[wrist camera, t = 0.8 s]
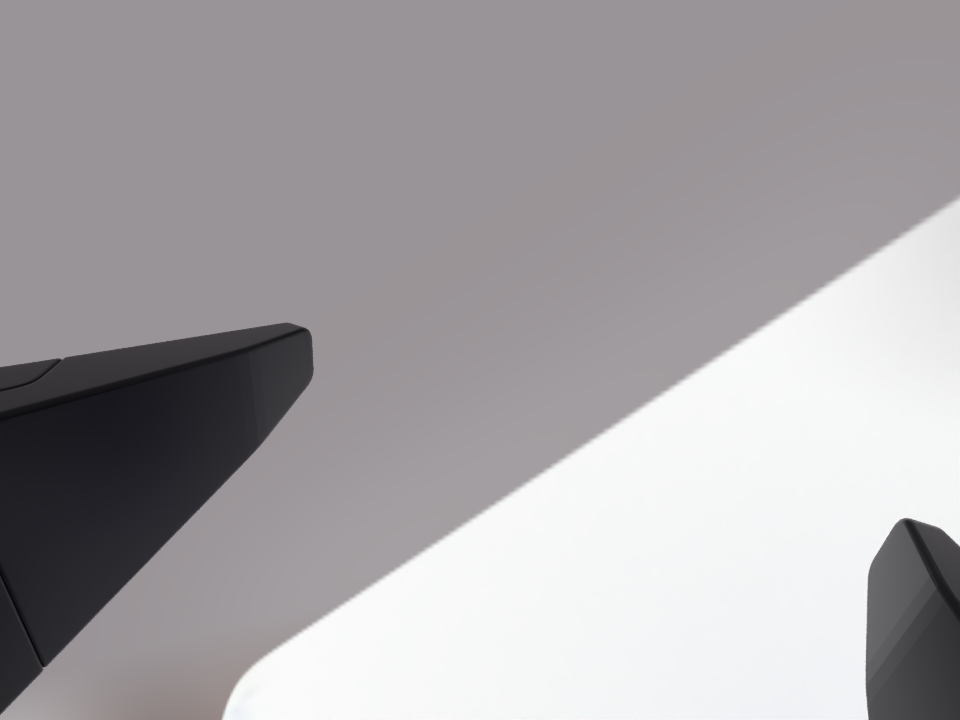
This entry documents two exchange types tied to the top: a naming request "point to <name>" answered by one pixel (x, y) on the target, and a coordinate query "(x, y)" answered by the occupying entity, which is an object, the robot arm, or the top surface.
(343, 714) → the top surface
